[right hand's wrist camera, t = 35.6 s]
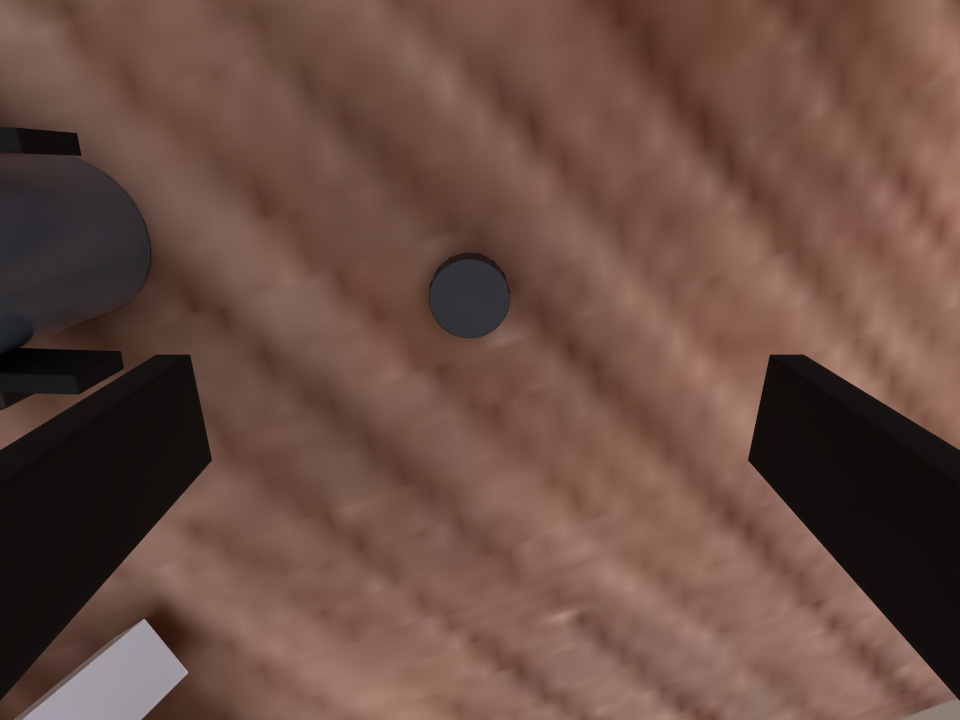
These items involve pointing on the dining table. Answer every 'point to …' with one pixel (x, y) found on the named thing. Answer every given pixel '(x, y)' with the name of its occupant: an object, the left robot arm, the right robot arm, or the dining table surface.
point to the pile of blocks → (114, 681)
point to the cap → (469, 295)
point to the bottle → (64, 246)
